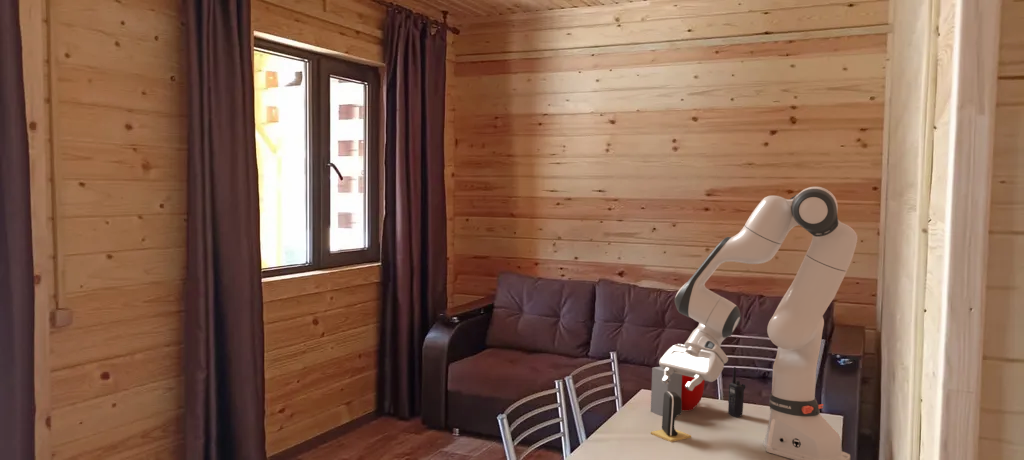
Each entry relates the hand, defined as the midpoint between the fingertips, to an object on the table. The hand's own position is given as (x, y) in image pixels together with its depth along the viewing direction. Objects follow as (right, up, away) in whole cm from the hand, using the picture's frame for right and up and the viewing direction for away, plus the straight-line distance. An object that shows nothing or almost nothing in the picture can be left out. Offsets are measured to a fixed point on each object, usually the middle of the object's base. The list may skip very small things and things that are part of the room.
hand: (676, 385), depth 214 cm
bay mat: (-1, -14, +1) cm, 14 cm away
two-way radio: (+24, -14, +23) cm, 36 cm away
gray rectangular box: (+2, -13, +23) cm, 27 cm away
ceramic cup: (+9, -13, +32) cm, 35 cm away
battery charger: (-1, -14, +1) cm, 14 cm away
